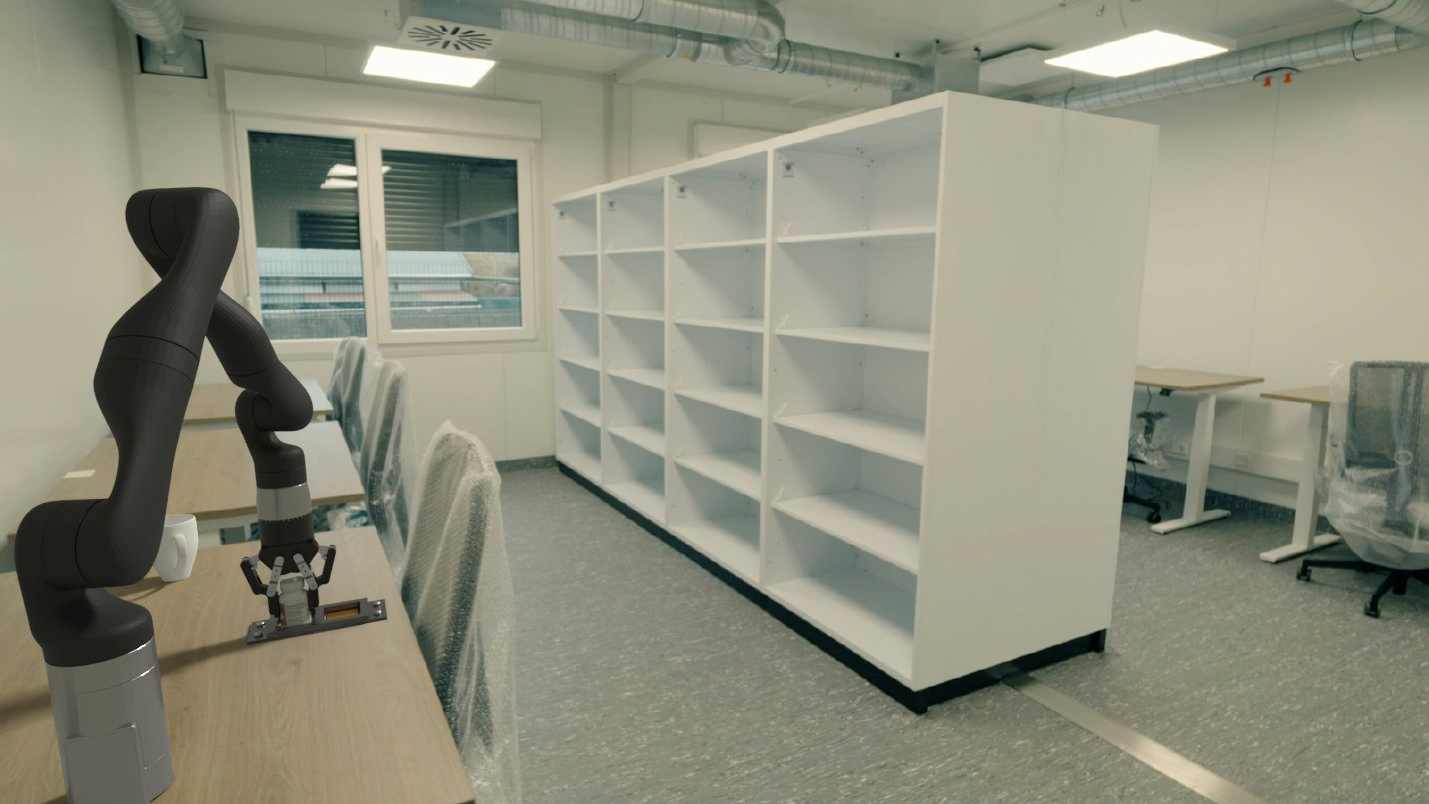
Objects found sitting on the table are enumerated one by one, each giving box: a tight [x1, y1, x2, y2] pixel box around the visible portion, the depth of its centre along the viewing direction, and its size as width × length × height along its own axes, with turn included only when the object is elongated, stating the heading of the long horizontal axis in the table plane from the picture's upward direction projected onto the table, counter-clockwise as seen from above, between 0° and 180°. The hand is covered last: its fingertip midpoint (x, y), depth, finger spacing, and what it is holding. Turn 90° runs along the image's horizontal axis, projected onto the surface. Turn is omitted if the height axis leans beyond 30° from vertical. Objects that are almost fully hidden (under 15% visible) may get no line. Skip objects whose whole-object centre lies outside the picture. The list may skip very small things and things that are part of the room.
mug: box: [152, 513, 199, 583], centre depth 143 cm, size 12×8×11 cm
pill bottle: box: [278, 575, 312, 628], centre depth 124 cm, size 4×4×8 cm
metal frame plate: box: [246, 597, 388, 646], centre depth 126 cm, size 8×20×1 cm, turn 116°
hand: (295, 612), depth 124 cm, fingers closed on pill bottle, 4 cm apart
